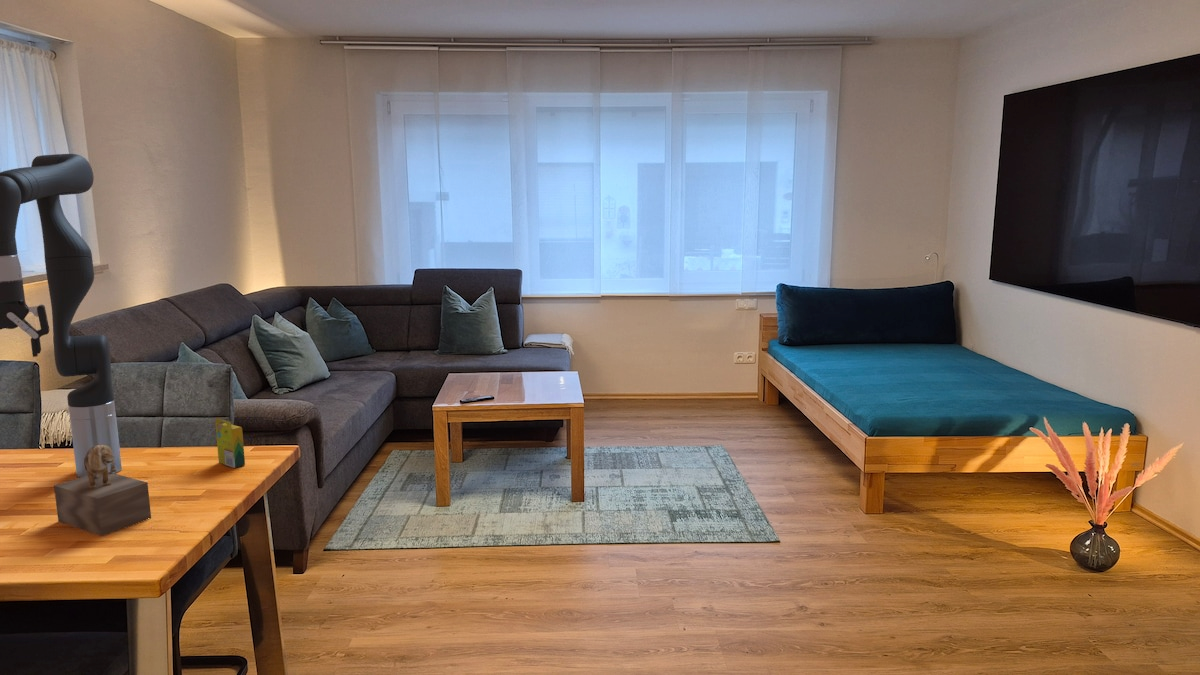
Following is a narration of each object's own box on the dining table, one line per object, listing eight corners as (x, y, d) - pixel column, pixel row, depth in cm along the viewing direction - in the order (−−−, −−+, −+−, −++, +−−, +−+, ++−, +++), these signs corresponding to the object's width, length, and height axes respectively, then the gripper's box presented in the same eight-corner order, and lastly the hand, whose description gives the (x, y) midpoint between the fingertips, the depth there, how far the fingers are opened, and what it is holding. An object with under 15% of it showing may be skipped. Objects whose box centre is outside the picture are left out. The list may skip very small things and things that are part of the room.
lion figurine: (118, 489, 158) (113, 445, 157) (87, 494, 156) (81, 450, 154) (116, 468, 171) (112, 427, 169) (87, 472, 168) (82, 431, 166)
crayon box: (245, 465, 195) (242, 419, 193) (234, 468, 193) (230, 422, 191) (229, 459, 200) (225, 414, 198) (218, 462, 197) (214, 417, 195)
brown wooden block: (58, 522, 162) (53, 485, 160) (108, 506, 171) (103, 470, 169) (102, 537, 155) (97, 498, 154) (151, 519, 164) (147, 482, 162)
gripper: (43, 274, 164) (53, 351, 167) (-44, 278, 157) (-32, 358, 160) (40, 278, 158) (50, 358, 161) (-51, 282, 151) (-39, 365, 154)
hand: (9, 358), depth 160 cm, fingers open, 8 cm apart
